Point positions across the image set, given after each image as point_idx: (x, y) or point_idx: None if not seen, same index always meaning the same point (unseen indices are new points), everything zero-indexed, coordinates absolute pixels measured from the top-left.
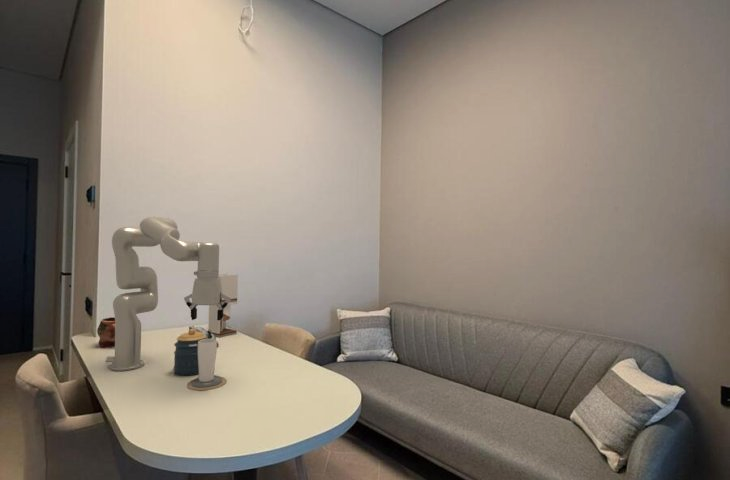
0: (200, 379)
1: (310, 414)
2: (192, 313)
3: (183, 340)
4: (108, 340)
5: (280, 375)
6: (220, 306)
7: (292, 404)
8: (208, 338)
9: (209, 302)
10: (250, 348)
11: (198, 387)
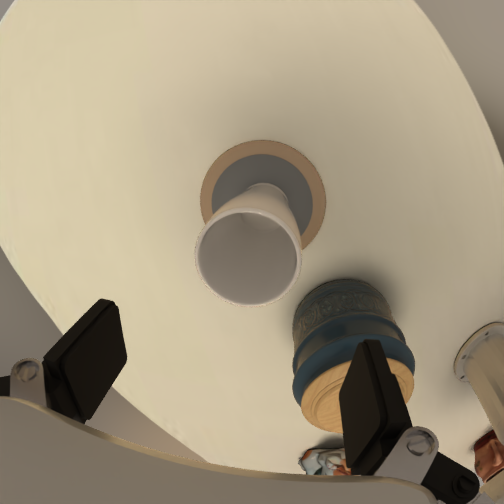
0: (278, 187)
1: (18, 39)
2: (386, 385)
3: (388, 359)
4: (496, 439)
5: (77, 251)
6: (15, 387)
7: (35, 69)
8: (321, 470)
9: (66, 460)
10: (219, 443)
11: (277, 156)
